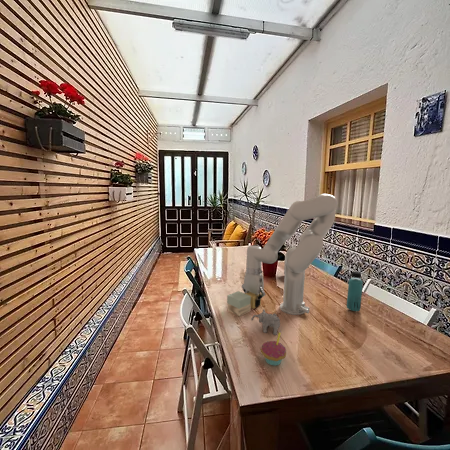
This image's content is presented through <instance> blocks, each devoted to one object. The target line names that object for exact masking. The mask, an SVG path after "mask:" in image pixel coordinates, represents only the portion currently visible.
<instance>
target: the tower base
mask: <svg viewBox="0 0 450 450" xmlns="http://www.w3.org/2000/svg"><path fill="white" fill-rule="evenodd" d="M226 308H227V312H229V313H231V314H234V315H235V316H237V317H242V316H244V315H246V314H247V313H250V312H251V309H252V308H251V304H249V305H247V306H244V307H242V308H240V309H238V308H236V307H234V306H232V305H230V304H228V303H227V307H226Z"/></svg>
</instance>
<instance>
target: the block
mask: <svg viewBox="0 0 450 450" xmlns="http://www.w3.org/2000/svg"><path fill="white" fill-rule="evenodd" d="M245 294H247V295H249V296H251V300H250V304H251V309H253V310H254V309H256V308H257V307H255V300H256V296H255V294H254V293H251V292H248V293H245ZM258 297H259V295H258ZM261 305H262V298H261V299H260V306H261Z"/></svg>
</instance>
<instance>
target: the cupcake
mask: <svg viewBox="0 0 450 450" xmlns="http://www.w3.org/2000/svg"><path fill="white" fill-rule="evenodd" d="M281 332H282V330H280V331H279V332H278V333H277V338H276V340H269V341H266V342H264V343H263V344H262V345H261V348H260V353H261V355H262V356H263V358H265V362H266V363H267V364H268V365H270V366H279V365H280V364H281V362H282V361H283V360H284V359H286V356H287V349H286V346H284V344H282V343H281V342H280V338H281V334H282V333H281Z"/></svg>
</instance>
